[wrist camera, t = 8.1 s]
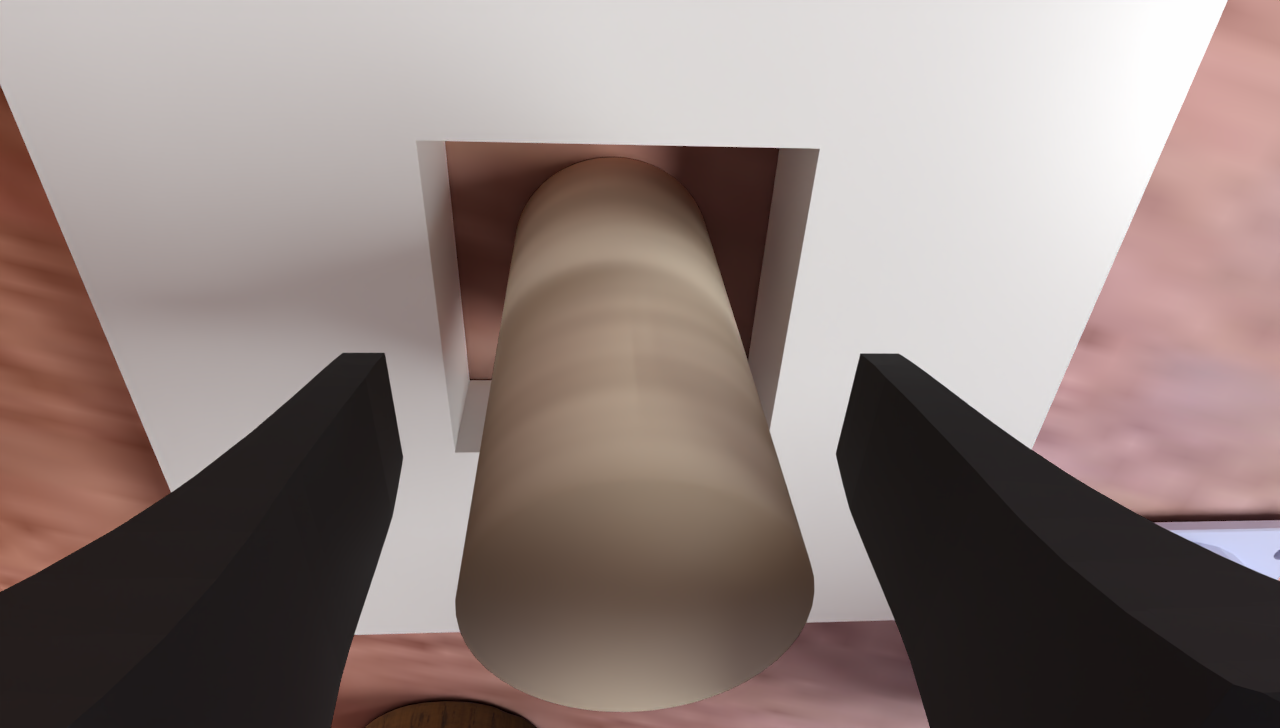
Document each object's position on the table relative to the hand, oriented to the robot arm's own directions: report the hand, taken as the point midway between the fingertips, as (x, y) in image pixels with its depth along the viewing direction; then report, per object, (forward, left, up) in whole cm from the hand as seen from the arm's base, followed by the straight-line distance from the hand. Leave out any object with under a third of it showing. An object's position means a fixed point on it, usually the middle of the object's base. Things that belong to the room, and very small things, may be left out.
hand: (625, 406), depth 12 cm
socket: (0, 0, -5) cm, 5 cm away
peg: (0, 0, -5) cm, 5 cm away
